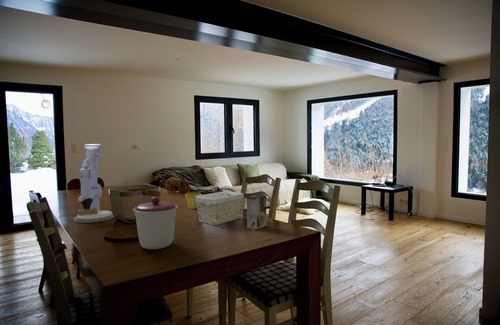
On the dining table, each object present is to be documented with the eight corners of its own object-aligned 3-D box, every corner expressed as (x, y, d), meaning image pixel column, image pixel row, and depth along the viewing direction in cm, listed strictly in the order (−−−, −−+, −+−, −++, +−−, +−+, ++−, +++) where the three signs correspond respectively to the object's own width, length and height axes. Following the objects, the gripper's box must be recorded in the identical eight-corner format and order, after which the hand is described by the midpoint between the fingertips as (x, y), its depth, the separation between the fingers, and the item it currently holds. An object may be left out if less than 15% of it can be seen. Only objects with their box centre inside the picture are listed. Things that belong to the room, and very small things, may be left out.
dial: (109, 211, 205) (109, 204, 204) (113, 217, 189) (113, 209, 189) (76, 215, 195) (76, 208, 195) (78, 221, 180) (78, 213, 180)
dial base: (72, 217, 196) (72, 214, 196) (112, 212, 207) (112, 210, 207) (74, 225, 177) (74, 222, 177) (118, 219, 189) (118, 217, 188)
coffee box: (256, 224, 175) (256, 194, 174) (266, 226, 171) (266, 195, 170) (246, 228, 167) (246, 196, 166) (257, 230, 164) (256, 197, 163)
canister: (136, 255, 128) (134, 201, 127) (132, 242, 145) (131, 195, 144) (182, 249, 135) (181, 198, 134) (174, 237, 152) (173, 192, 151)
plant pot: (186, 206, 226) (185, 192, 225) (201, 206, 227) (201, 192, 226) (184, 209, 216) (184, 194, 215) (200, 209, 217) (200, 194, 216)
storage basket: (214, 226, 171) (214, 198, 171) (194, 222, 182) (194, 195, 181) (245, 218, 189) (245, 193, 189) (225, 214, 200) (225, 190, 199)
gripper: (86, 187, 201) (87, 209, 202) (72, 190, 186) (73, 214, 187) (97, 186, 201) (98, 209, 201) (84, 190, 186) (85, 214, 187)
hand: (87, 211), depth 194 cm, fingers closed
